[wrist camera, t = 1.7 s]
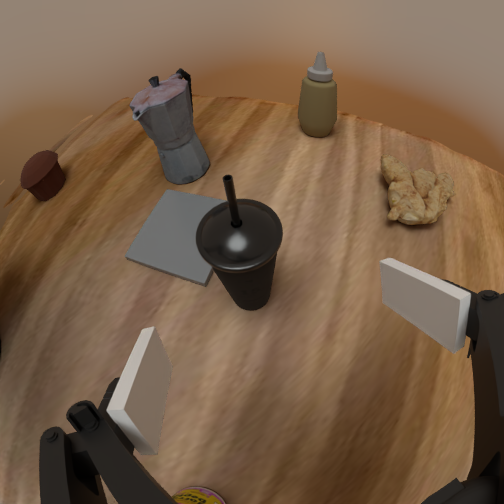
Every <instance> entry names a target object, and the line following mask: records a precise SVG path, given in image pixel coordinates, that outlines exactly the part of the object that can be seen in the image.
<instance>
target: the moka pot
mask: <svg viewBox="0 0 504 504" xmlns="http://www.w3.org/2000/svg"><path fill="white" fill-rule="evenodd" d="M183 77H184V79H185V80H182V78H183ZM149 82H150V84H151V85H150V86H149V87H147V88H145V89H143V90H142V91H140V92H139V93H137V94H136V95H135V97H134V98H133V100H132V102H131V103H130V108H131V109H132V111H133V120H138V121H139V122H140V124H141V125H142V127H143V128H144V130H145V132H146V133H147V135H148V136H149V138H151V139H152V140H153V141H154V143H155V145H156V146H157V149H158V153H159V156H160V160H161V163H162V167H163V170H164V174H165V177H166V179H167V180H168V181H170V182H172V183H175V184H186V183H190V182H193V181H194V180H196V179H198V178H200V177H201V176H202V175H203V174H204V173H205V172H206V170H207V169H208V167H209V164H210V162H209V159H208V157H207V154H206V152H205V150H204V148H203V146H202V144H201V142H200V140H199V139H198V137H197V135H196V133H195V129H194V126H193V107H192V106H193V104H192V93H191V78H190V75H189V74H188V73H187V72H185V71H184V70H182V69H179V70H178V71H177V72H176V74H173V75H172V76H170V77H169V79H167V80H164V81H161V82H159V79H158V76H155V77H152V78H151V79H149Z"/></svg>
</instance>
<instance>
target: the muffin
mask: <svg viewBox="0 0 504 504" xmlns="http://www.w3.org/2000/svg"><path fill="white" fill-rule="evenodd" d="M65 180H66V178H65V176H64V174H63V172H62V170H61V168H60V165H59V163H58V154H57V153H55V152H52V151H49V150H46V151H42V152H38V153H36V154H35V155H33V157H31V158H30V159H29V160H28V161H27V162H26V164H25V166H24V168H23V170H22V173H21V186H22V188H23V189H27V190H28V191H29V192H31V193H32V194H33V195H34V196H35V197H36V198H37V199H39V200H40V201H47V200H49V199H50V198H52V197H54V196H55V195H56V194H57V193H58V191H59V190H60V189H61V188H62V187H63V184H64V182H65Z"/></svg>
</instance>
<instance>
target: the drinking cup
mask: <svg viewBox="0 0 504 504" xmlns="http://www.w3.org/2000/svg"><path fill="white" fill-rule="evenodd" d="M223 182H224V187H225V191H226V196H227V201H226V202H223V203H221V204H219V205H217V206H215V207H214V208H212V209H211V210H210V211H208V212H207V213H206V214H205V215H204V217H203V218H202V219H201V221H200V223H199V225H198V227H197V231H196V245H197V249H198V251H199V253H200V255H201V256H202V258H203V259H204V260H205V261H206V262H207V263H208V264H209V265H211V267H212V268H213V270H214V271H215V273H216V274H217V276H218V277H219V279H220V280H221V282H222V283H223V285H224V286H225V288H226V289H227V291H228V292H229V294H230V295H231V297H232V298H233V300H234V301H235V303H236V304H237V305H238V306H239V307H240V308H242V309H245V310H257V309H259V308H261V307H263V306H264V305H265V304H266V303H267V301H268V299H269V297H270V291H271V285H272V280H273V274H274V268H275V262H276V256H277V251H278V250H279V248H280V245H281V242H282V236H283V230H282V224H281V221H280V219H279V217H278V216H277V214H276V213H275V212H274V211H273V210H272V209H271V208H270V207H268V206H267V205H265V204H263V203H261V202H258V201H255V200H250V199H236V194H235V189H234V183H233V178H232V176H231V175H225V176H224V177H223Z"/></svg>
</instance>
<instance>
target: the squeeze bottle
mask: <svg viewBox="0 0 504 504" xmlns="http://www.w3.org/2000/svg"><path fill="white" fill-rule="evenodd" d="M307 74H308V75H307V77H305V78H304V79H303V80H302V87H301V94H300V101H299V108H298V118H299V121H300V124H301V127H302V129H303V131H304V132H305V133H306V134H308V135H310V136H314V137H324V136H327V135H328V134H329V133H330V131H331V129H332V127H333V126H334V124H335V122H336V120H337V84H336V82H335V81H334V80H333V79H332V74H333V72H332V70H331V69H329V68H327V65H326V60H325V55H324V53H323V52H318V53H317V56H316V60H315V63H314V66H312V67H309V68H308V72H307Z"/></svg>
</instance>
